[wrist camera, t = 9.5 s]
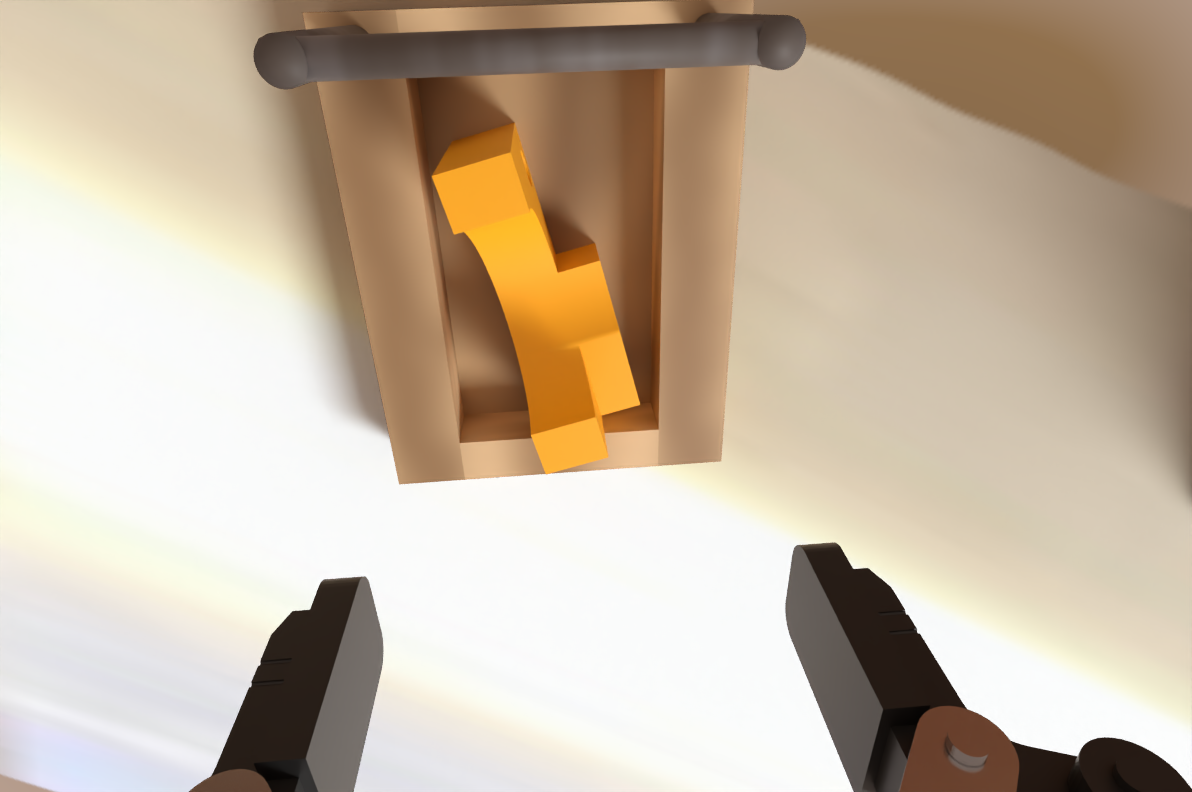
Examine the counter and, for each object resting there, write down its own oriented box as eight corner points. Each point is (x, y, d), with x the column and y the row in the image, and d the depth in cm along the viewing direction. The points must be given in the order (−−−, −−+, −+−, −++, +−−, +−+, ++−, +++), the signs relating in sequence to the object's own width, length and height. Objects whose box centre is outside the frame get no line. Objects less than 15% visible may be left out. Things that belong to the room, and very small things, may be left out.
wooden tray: (731, -2, 26) (847, -6, 17) (706, 427, 36) (772, 583, 26) (325, 12, 25) (202, 15, 16) (409, 448, 35) (362, 616, 25)
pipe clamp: (630, 370, 33) (651, 445, 27) (543, 395, 33) (545, 474, 28) (557, 109, 27) (564, 135, 22) (451, 141, 27) (431, 176, 22)
